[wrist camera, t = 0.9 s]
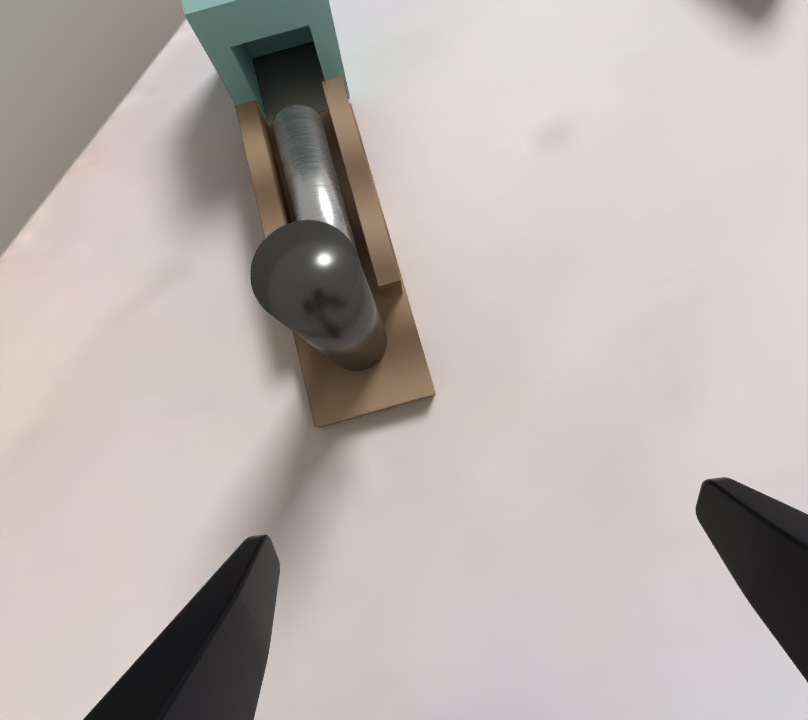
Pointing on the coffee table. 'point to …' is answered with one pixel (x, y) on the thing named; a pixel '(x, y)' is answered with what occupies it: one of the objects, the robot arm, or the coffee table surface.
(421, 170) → the coffee table surface
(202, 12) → the socket block
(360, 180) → the guide
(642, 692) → the coffee table surface
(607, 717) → the coffee table surface
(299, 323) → the slip rod
